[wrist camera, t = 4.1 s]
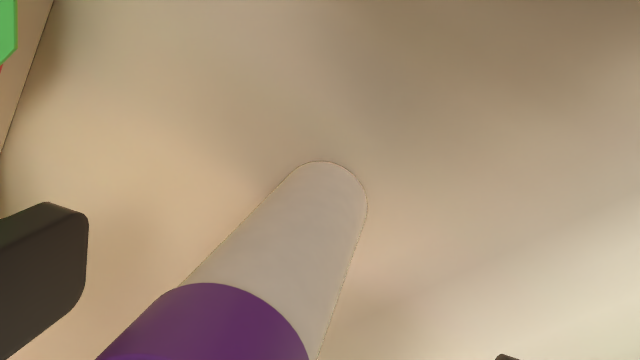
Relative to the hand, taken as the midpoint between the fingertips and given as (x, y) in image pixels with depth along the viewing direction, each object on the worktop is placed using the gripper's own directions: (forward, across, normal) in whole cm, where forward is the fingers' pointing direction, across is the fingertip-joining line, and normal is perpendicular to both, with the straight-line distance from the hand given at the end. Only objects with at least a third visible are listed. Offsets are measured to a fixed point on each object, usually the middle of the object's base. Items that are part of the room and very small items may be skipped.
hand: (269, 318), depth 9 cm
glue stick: (+6, 0, 0) cm, 6 cm away
